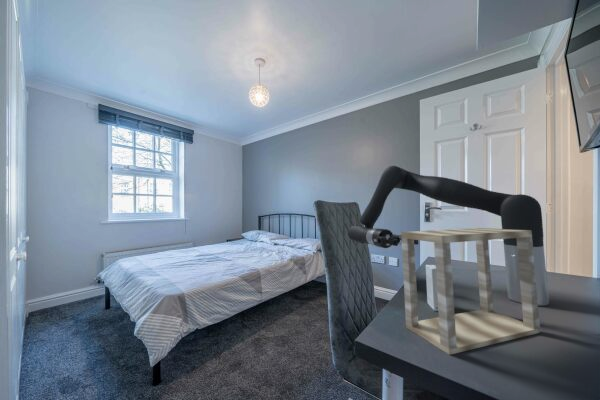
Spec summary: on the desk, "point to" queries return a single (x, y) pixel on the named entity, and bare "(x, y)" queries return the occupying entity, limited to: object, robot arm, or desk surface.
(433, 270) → the skincare box
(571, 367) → the desk surface
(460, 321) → the oak counter shelf
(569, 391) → the desk surface
